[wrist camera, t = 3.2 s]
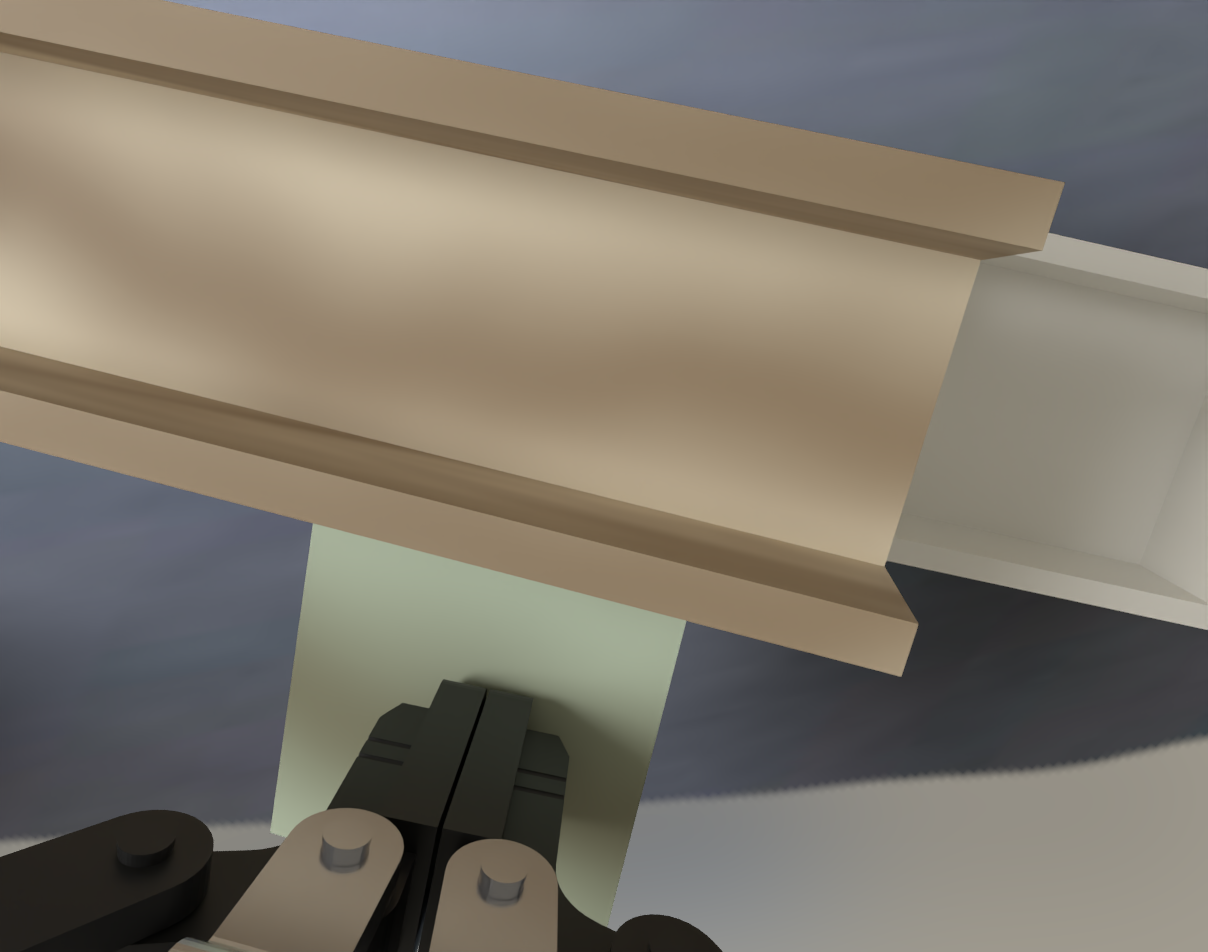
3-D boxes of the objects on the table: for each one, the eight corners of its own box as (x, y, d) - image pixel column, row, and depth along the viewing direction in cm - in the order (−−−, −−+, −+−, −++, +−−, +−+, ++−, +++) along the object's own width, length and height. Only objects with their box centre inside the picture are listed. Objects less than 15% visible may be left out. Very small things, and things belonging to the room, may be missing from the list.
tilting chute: (-200, -16, 17) (-609, -156, 12) (945, 223, 15) (1064, 182, 10) (-192, 541, 20) (-518, 626, 15) (768, 810, 18) (786, 1023, 13)
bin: (844, 209, 21) (886, 195, 18) (1252, 301, 22) (1369, 305, 18) (764, 501, 23) (788, 539, 20) (1141, 582, 23) (1228, 634, 20)
